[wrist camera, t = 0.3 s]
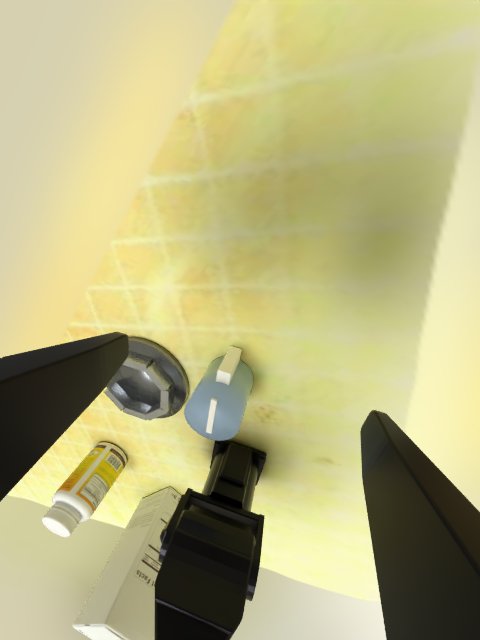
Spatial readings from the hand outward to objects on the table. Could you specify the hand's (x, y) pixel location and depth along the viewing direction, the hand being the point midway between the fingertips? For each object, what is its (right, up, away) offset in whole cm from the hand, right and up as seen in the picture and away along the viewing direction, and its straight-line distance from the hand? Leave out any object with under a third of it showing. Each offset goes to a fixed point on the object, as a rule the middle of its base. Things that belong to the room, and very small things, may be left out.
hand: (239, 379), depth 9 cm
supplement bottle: (-20, -19, +31) cm, 41 cm away
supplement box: (-11, -29, +33) cm, 46 cm away
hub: (-11, -5, +21) cm, 24 cm away
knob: (-1, -4, +18) cm, 18 cm away
